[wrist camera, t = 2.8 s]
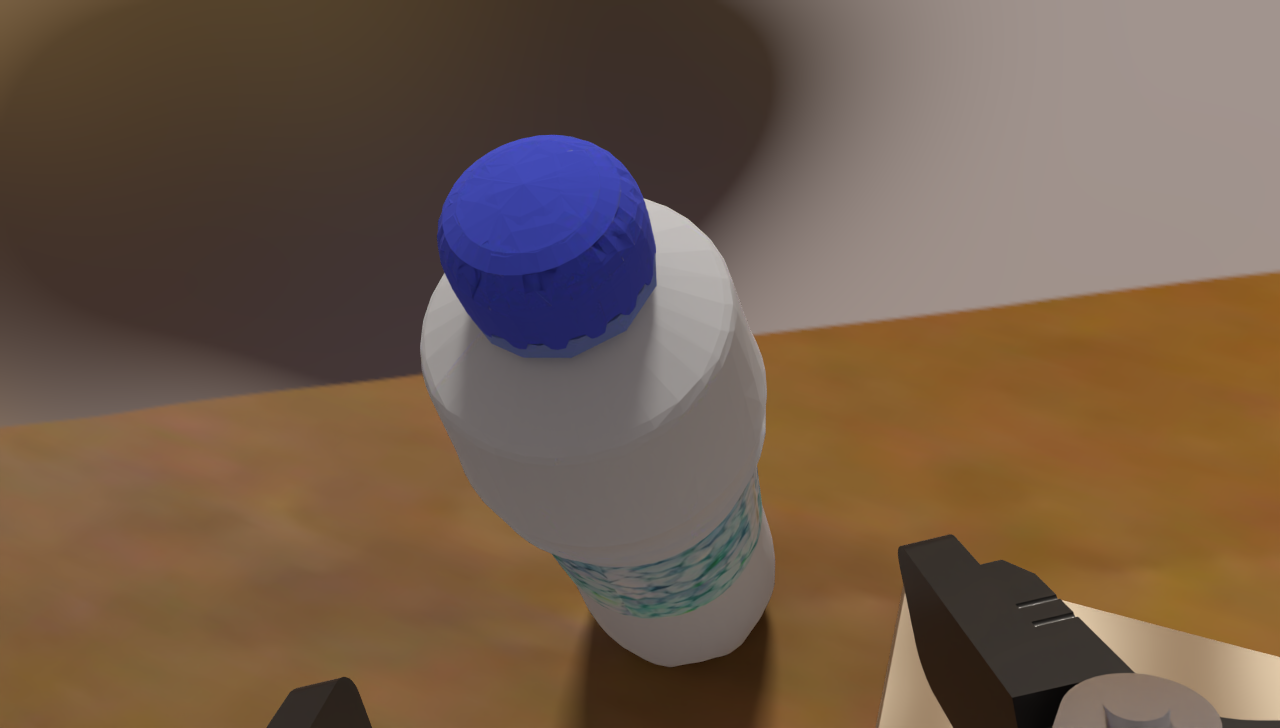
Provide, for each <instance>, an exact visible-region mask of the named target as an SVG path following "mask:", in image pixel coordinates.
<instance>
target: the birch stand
mask: <svg viewBox="0 0 1280 728" xmlns="http://www.w3.org/2000/svg"><path fill="white" fill-rule="evenodd" d="M1062 601H1063V600H1062ZM1063 602H1064V603H1065V604H1066V605H1067V606H1068V607H1069V608H1070V609H1071V610H1072V611H1073V612H1074V615H1075V617H1079V618H1080V619H1081V620H1082V621H1083V622H1084V623H1085V624H1086V625H1087V626H1088V627H1089V628H1090V629H1091V630H1092V631H1093V632H1094V633H1095V634H1096V635H1097V636H1098V637H1099V638H1100V639H1101V640H1102V641H1103V642H1104V643H1105V644H1106V645H1107V646H1108V647H1109V648H1110V649H1111V650H1112V651H1113V652H1114V653H1115V654H1116V655H1117V656H1118V657H1120V658H1121V659H1122V660H1123V661H1124V662H1125V663H1126V664H1127V665H1128V666H1129V667H1130V668H1131V669H1132V670H1133V671H1134V672H1135V673H1136V674H1146V675H1151V676H1157V677H1161V678H1164V679H1168V680H1171V681H1174V682H1177V683H1179V684H1181V685H1184V686H1186V687H1188V688H1190V689H1192V690H1193V691H1195V692H1197V693H1198V694H1200V695H1201V696H1202V697H1204V698H1205V699H1206V700H1207V701H1208V702H1209V703H1210V704H1211V705H1212V706H1213V707H1214V708H1215V710H1216V711H1217V713H1218V714H1219V716H1220V717H1224V718H1232V719H1240V720H1280V657H1277V656H1273V655H1269V654H1265V653H1261V652H1257V651H1254V650H1250V649H1246V648H1242V647H1238V646H1234V645H1231V644H1227V643H1223V642H1219V641H1215V640H1212V639H1208V638H1204V637H1200V636H1196V635H1192V634H1189V633H1185V632H1181V631H1177V630H1173V629H1170V628H1166V627H1162V626H1158V625H1154V624H1150V623H1147V622H1143V621H1139V620H1135V619H1131V618H1127V617H1124V616H1120V615H1116V614H1112V613H1108V612H1105V611H1101V610H1097V609H1093V608H1089V607H1085V606H1082V605H1078V604H1074V603H1070V602H1066V601H1063ZM876 728H953V727H952V725H951V723H950V721H949V720H948V718H947V716H946V715H945V713H944V711H943V709H942V708H941V706H940V704H939V702H938V701H937V699H936V697H935V696H934V694H933V692H932V690H931V688H930V686H929V684H928V681H927V679H926V676H925V674H924V671H923V668H922V665H921V662H920V659H919V655H918V652H917V648H916V643H915V638H914V633H913V628H912V624H911V619H910V614H909V609H908V604H907V599H906V594H905V589H904V585H903V590H902V595H901V600H900V605H899V610H898V615H897V620H896V626H895V631H894V636H893V641H892V646H891V651H890V656H889V662H888V667H887V672H886V677H885V682H884V687H883V692H882V698H881V703H880V708H879V713H878V718H877V723H876Z"/></svg>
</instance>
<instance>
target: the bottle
mask: <svg viewBox="0 0 1280 728" xmlns="http://www.w3.org/2000/svg"><path fill="white" fill-rule="evenodd" d="M437 241H438V249H439V254H440V260H441V265H442V267H443V270H444V272H445V273H444V275H443V277H442V278H441V280H440V282H439V284H438V286H437V287H436V289H435V291H434V293H433V294H432V296H431V299H430V302H429V305H428V308H427V311H426V314H425V317H424V320H423V328H422V336H421V344H420V353H421V364H422V373H423V377H424V380H425V384H426V387H427V390H428V392H429V395H430V397H431V400H432V402H433V404H434V406H435V408H436V410H437V412H438V414H439V416H440V418H441V420H442V422H443V424H444V427H445V429H446V431H447V433H448V435H449V437H450V439H451V441H452V443H453V445H454V447H455V449H456V451H457V454H458V456H459V459H460V462H461V464H462V467H463V470H464V472H465V474H466V476H467V478H468V480H469V482H470V483H471V485H472V487H473V488H474V490H475V491H476V492H477V494H478V495H479V496H480V498H481V499H482V500H483V502H484V503H485V504H486V505H487V506H489V507H490V508H491V509H492V510H493V511H494V512H495V513H496V514H497V515H498V516H499V517H500V518H502V519H503V520H504V521H505V522H506V523H507V524H508V525H509V526H510V527H511V528H512V529H513V530H514V531H515V532H516V533H517V534H519V535H520V536H521V537H523V538H524V539H525V540H527V541H528V542H529V543H531V544H533V545H534V546H536V547H538V548H540V549H542V550H544V551H547V552H549V553H551V554H552V555H553V556H554V558H555V559H556V560H557V561H558V563H559V564H560V565H561V566H562V568H563V569H564V570H565V572H566V573H567V574H568V575H569V577H570V578H571V579H572V580H573V582H574V583H575V584H576V585H577V587H578V589H579V591H580V593H581V595H582V597H583V599H584V601H585V603H586V605H587V607H588V609H589V611H590V612H591V614H592V615H593V617H594V618H595V619H596V621H597V622H598V624H599V625H600V626H601V627H602V629H603V630H604V631H605V632H606V633H607V634H608V635H609V636H610V637H611V638H612V639H614V640H615V641H616V642H617V643H618V644H620V645H621V646H622V647H623V648H625V649H627V650H629V651H630V652H632V653H634V654H636V655H637V656H639V657H641V658H643V659H645V660H647V661H649V662H651V663H654V664H656V665H662V666H667V667H674V666H679V665H685V664H691V663H697V662H702V661H706V660H709V659H712V658H716V657H721V656H724V655H727V654H730V653H731V652H732V651H734V650H735V649H736V648H738V647H739V646H740V645H742V643H743V642H744V641H745V639H746V638H747V636H748V635H749V634H750V632H751V631H752V629H753V628H754V627H755V625H756V624H757V622H758V621H759V619H760V618H761V616H762V614H763V612H764V610H765V608H766V606H767V604H768V602H769V600H770V598H771V595H772V592H773V587H774V579H775V555H774V548H773V541H772V536H771V532H770V529H769V525H768V522H767V519H766V516H765V513H764V510H763V507H762V502H761V494H760V486H759V478H758V471H757V463H758V461H759V458H760V455H761V451H762V447H763V442H764V438H765V424H766V398H767V389H766V373H765V368H764V363H763V359H762V356H761V353H760V350H759V348H758V345H757V342H756V340H755V338H754V336H753V335H752V333H751V331H750V328H749V325H748V323H747V320H746V317H745V315H744V312H743V309H742V306H741V304H740V301H739V298H738V295H737V293H736V290H735V287H734V284H733V281H732V278H731V276H730V274H729V271H728V268H727V266H726V263H725V260H724V259H723V257H722V256H721V254H720V253H719V251H718V250H717V248H716V247H715V246H714V244H713V242H712V241H711V240H710V239H709V238H708V237H707V236H706V235H705V234H704V233H703V232H702V231H701V230H699V229H698V228H697V227H696V226H695V225H694V224H693V223H692V222H691V221H690V220H689V219H687V218H685V217H684V216H682V215H680V214H678V213H677V212H675V211H673V210H672V209H670V208H668V207H666V206H663V205H660V204H658V203H655V202H652V201H649V200H647V199H644V198H643V196H642V194H641V192H640V189H639V187H638V185H637V183H636V181H635V180H634V179H633V177H632V176H631V174H630V173H629V172H628V170H627V169H626V168H625V166H624V165H623V164H622V163H621V162H620V161H619V160H617V159H616V158H615V157H614V156H613V155H612V154H611V153H610V152H608V151H606V150H604V149H602V148H600V147H598V146H596V145H595V144H593V143H590V142H588V141H584V140H581V139H577V138H573V137H569V136H559V135H541V136H534V137H528V138H523V139H520V140H517V141H513V142H510V143H507V144H505V145H503V146H501V147H499V148H497V149H495V150H493V151H490V152H489V153H487V154H486V155H484V156H483V157H482V158H480V159H478V160H477V161H476V162H475V163H474V164H472V165H471V166H470V167H469V168H468V169H467V170H466V171H465V172H464V173H463V174H462V175H461V177H460V178H459V179H458V180H457V182H456V183H455V184H454V186H453V188H452V190H451V191H450V193H449V195H448V197H447V199H446V201H445V203H444V205H443V210H442V214H441V216H440V218H439V220H438V234H437Z"/></svg>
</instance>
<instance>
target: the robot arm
mask: <svg viewBox="0 0 1280 728" xmlns="http://www.w3.org/2000/svg"><path fill="white" fill-rule="evenodd" d="M898 558H899V564H900V570H901V574H902V579H903V584H904V589H905V594H906V599H907V604H908V609H909V614H910V619H911V624H912V628H913V633H914V638H915V643H916V648H917V652H918V655H919V659H920V662H921V665H922V668H923V671H924V674H925V676H926V679H927V681H928V684H929V686H930V688H931V690H932V692H933V694H934V696H935V697H936V699H937V701H938V702H939V704H940V706H941V708H942V709H943V711H944V713H945V715H946V716H947V718H948V720H949V721H950V723H951V725H952V727H953V728H1280V720H1240V719H1232V718H1224V717H1220V716H1219V714H1218V713H1217V711H1216V710H1215V708H1214V707H1213V706H1212V705H1211V704H1210V703H1209V702H1208V701H1207V700H1206V699H1205V698H1204V697H1202V696H1201V695H1200V694H1198V693H1197V692H1195V691H1193V690H1192V689H1190V688H1188V687H1186V686H1184V685H1181V684H1179V683H1177V682H1174V681H1171V680H1168V679H1164V678H1161V677H1157V676H1151V675H1146V674H1136V673H1135V672H1134V671H1133V670H1132V669H1131V668H1130V667H1129V666H1128V665H1127V664H1126V663H1125V662H1124V661H1123V660H1122V659H1121V658H1120V657H1118V656H1117V655H1116V654H1115V653H1114V652H1113V651H1112V650H1111V649H1110V648H1109V647H1108V646H1107V645H1106V644H1105V643H1104V642H1103V641H1102V640H1101V639H1100V638H1099V637H1098V636H1097V635H1096V634H1095V633H1094V632H1093V631H1092V630H1091V629H1090V628H1089V627H1088V626H1087V625H1086V624H1085V623H1084V622H1083V621H1082V620H1081V619H1080V618H1079V617H1075V615H1074V612H1073V611H1072V610H1071V609H1070V608H1069V607H1068V606H1067V605H1066V604H1065V603H1064V602H1063V601H1062V600H1061V599H1057V597H1056V594H1055V593H1054V592H1053V591H1052V590H1051V589H1050V588H1049V587H1048V586H1047V585H1046V584H1045V583H1044V582H1043V581H1042V580H1041V579H1040V578H1039V577H1038V576H1037V575H1036V574H1034V573H1032V572H1029V571H1027V570H1025V569H1022V568H1020V567H1018V566H1015V565H1013V564H1011V563H1008V562H1006V561H1004V560H999V561H994V562H990V563H986V564H982V565H980V564H979V563H978V562H977V561H976V560H975V559H974V557H973V556H972V555H971V554H970V553H969V552H968V551H967V550H966V549H965V547H964V546H963V545H962V544H961V543H960V542H959V541H958V540H957V538H956V537H955V536H953V535H952V534H951V535H946V536H941V537H937V538H933V539H929V540H925V541H920V542H916V543H912V544H908V545H904V546H900V547H899V549H898ZM267 728H372V726H371V724H370V721H369V718H368V716H367V713H366V710H365V708H364V705H363V702H362V699H361V697H360V694H359V692H358V689H357V687H356V686H355V684H354V683H353V681H352V680H350V679H349V678H347V677H342V678H338V679H334V680H330V681H325V682H321V683H317V684H313V685H309V686H304V687H300V688H296V689H294V690H292V691H291V692H290V693H289V695H288V696H287V698H286V699H285V701H284V702H283V704H282V705H281V707H280V708H279V710H278V711H277V713H276V714H275V716H274V717H273V719H272V720H271V722H270V723H269V725H268V726H267Z"/></svg>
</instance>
